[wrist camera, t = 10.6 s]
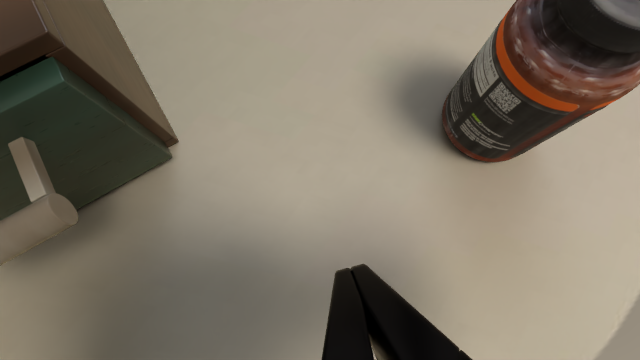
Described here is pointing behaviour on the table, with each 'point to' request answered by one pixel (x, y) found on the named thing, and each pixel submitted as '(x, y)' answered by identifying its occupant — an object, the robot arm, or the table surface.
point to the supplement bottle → (543, 74)
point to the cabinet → (81, 52)
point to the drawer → (61, 152)
